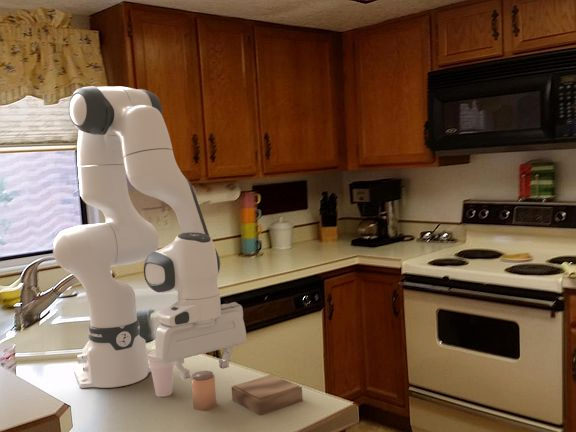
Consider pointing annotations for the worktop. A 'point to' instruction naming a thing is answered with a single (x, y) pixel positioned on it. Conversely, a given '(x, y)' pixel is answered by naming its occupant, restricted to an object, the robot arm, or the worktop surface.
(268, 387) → the plinth
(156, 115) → the robot arm
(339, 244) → the worktop surface
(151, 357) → the smoothie
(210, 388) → the jar
